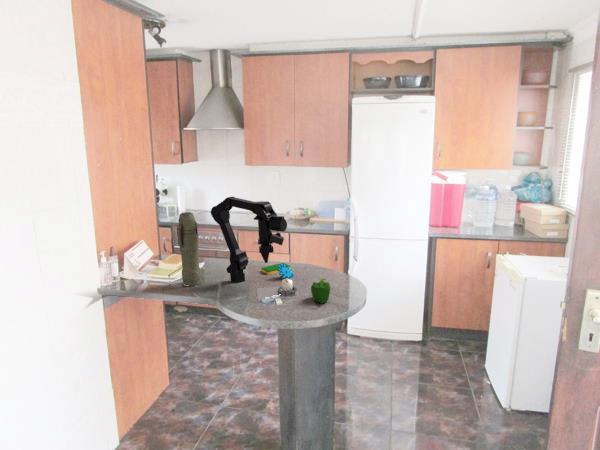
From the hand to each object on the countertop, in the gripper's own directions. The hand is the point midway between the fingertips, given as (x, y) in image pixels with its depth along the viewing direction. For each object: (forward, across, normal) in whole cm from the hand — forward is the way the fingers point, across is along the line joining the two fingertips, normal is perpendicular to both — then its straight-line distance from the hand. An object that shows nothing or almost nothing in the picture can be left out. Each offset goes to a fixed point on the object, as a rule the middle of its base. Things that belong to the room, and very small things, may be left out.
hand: (266, 262), depth 196 cm
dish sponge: (+13, +26, -6) cm, 30 cm away
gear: (+13, +11, -10) cm, 20 cm away
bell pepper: (+13, -20, -22) cm, 32 cm away
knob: (+11, -9, -8) cm, 17 cm away
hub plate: (+12, -9, -4) cm, 16 cm away
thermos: (+13, +14, +36) cm, 41 cm away
